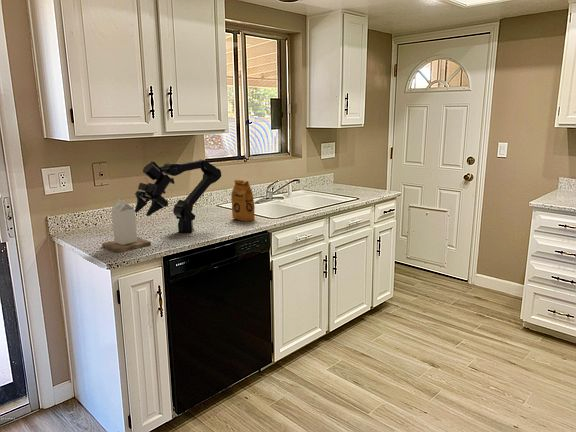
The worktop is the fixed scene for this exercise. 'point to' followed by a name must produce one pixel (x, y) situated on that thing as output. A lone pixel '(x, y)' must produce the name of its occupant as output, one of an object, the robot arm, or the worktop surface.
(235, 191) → the coffee package
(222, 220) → the worktop surface
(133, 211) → the milk carton
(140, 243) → the cutting board
